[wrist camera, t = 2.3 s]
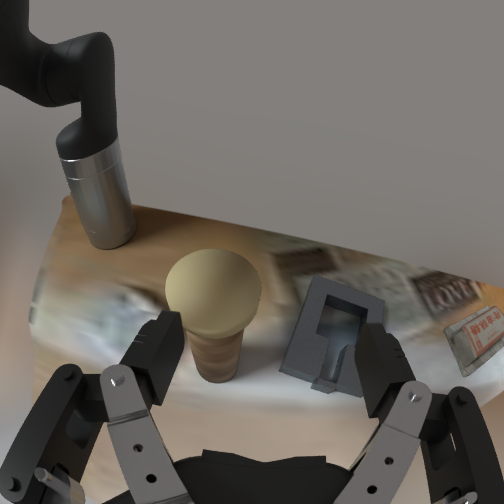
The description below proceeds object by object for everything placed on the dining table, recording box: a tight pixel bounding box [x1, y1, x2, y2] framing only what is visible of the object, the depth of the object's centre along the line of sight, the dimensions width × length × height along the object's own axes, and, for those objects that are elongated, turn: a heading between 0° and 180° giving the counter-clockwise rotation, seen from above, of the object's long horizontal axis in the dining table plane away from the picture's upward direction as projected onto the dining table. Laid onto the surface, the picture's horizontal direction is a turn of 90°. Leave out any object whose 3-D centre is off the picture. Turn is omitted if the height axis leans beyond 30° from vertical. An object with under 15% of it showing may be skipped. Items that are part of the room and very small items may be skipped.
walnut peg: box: [165, 249, 261, 383], centre depth 24 cm, size 6×6×18 cm
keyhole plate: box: [279, 275, 385, 398], centre depth 33 cm, size 12×15×2 cm
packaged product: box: [444, 305, 504, 377], centre depth 33 cm, size 18×5×10 cm
